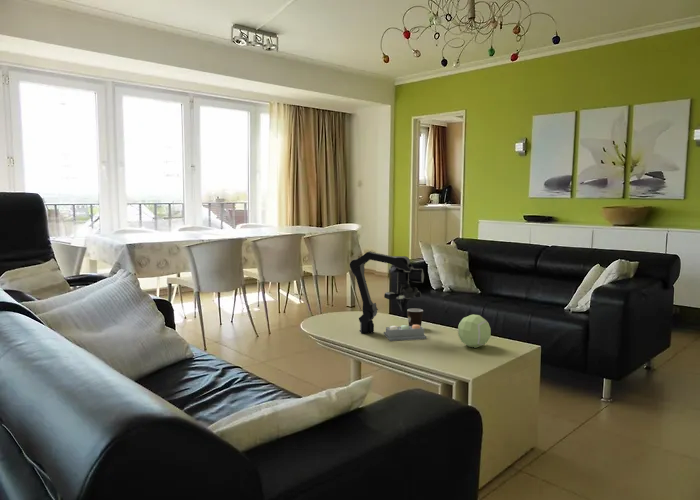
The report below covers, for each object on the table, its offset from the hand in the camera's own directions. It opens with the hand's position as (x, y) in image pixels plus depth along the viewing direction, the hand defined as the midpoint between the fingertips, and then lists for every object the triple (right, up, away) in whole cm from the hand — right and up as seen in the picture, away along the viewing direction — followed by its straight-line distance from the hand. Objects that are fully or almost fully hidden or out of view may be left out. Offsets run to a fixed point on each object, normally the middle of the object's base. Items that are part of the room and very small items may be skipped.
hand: (402, 311), depth 267 cm
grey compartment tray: (+1, -13, -1) cm, 13 cm away
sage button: (+1, -11, -1) cm, 11 cm away
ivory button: (-5, -11, -2) cm, 13 cm away
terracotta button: (+7, -11, 0) cm, 13 cm away
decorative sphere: (+32, -15, -18) cm, 40 cm away
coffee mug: (+8, -11, +18) cm, 23 cm away
